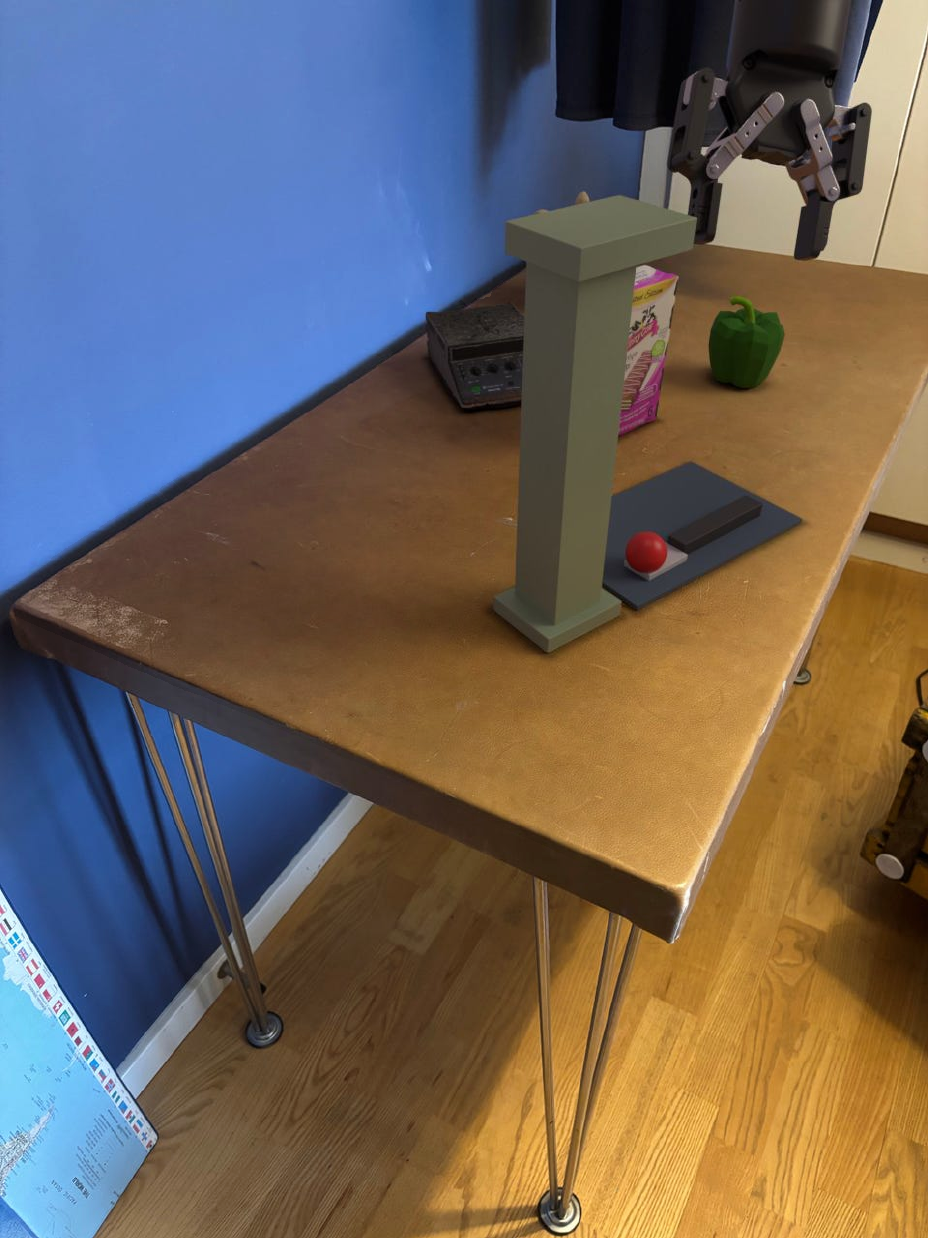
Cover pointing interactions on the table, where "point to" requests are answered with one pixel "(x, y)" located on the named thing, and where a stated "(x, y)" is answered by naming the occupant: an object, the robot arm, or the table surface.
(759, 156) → the robot arm
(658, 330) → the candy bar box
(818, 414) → the table surface
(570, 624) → the stand
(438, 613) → the table surface
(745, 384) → the bell pepper
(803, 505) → the table surface
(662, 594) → the mat
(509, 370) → the electronic device
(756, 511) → the bar with red ball
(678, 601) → the table surface
